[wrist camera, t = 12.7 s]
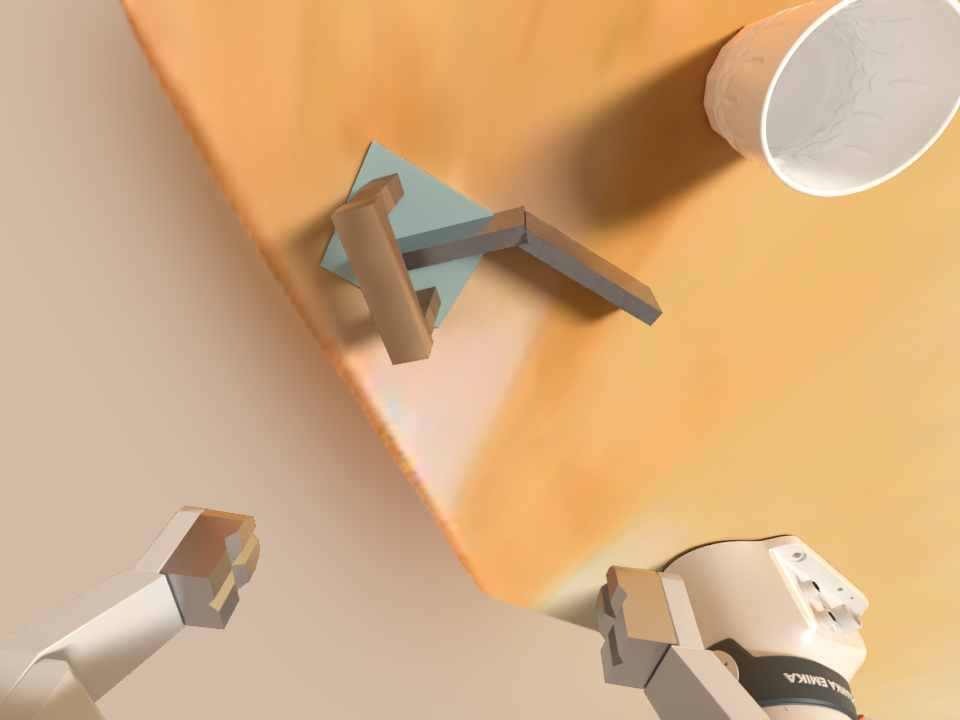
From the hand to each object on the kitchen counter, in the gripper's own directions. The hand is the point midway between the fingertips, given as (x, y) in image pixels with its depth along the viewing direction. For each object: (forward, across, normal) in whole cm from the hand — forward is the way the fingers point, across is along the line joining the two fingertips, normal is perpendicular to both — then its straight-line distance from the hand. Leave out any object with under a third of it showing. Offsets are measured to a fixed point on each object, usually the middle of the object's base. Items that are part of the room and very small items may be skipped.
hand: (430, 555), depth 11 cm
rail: (+27, +2, -3) cm, 27 cm away
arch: (+27, -6, -3) cm, 28 cm away
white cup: (+27, +15, +10) cm, 33 cm away
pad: (+27, -6, -2) cm, 28 cm away
